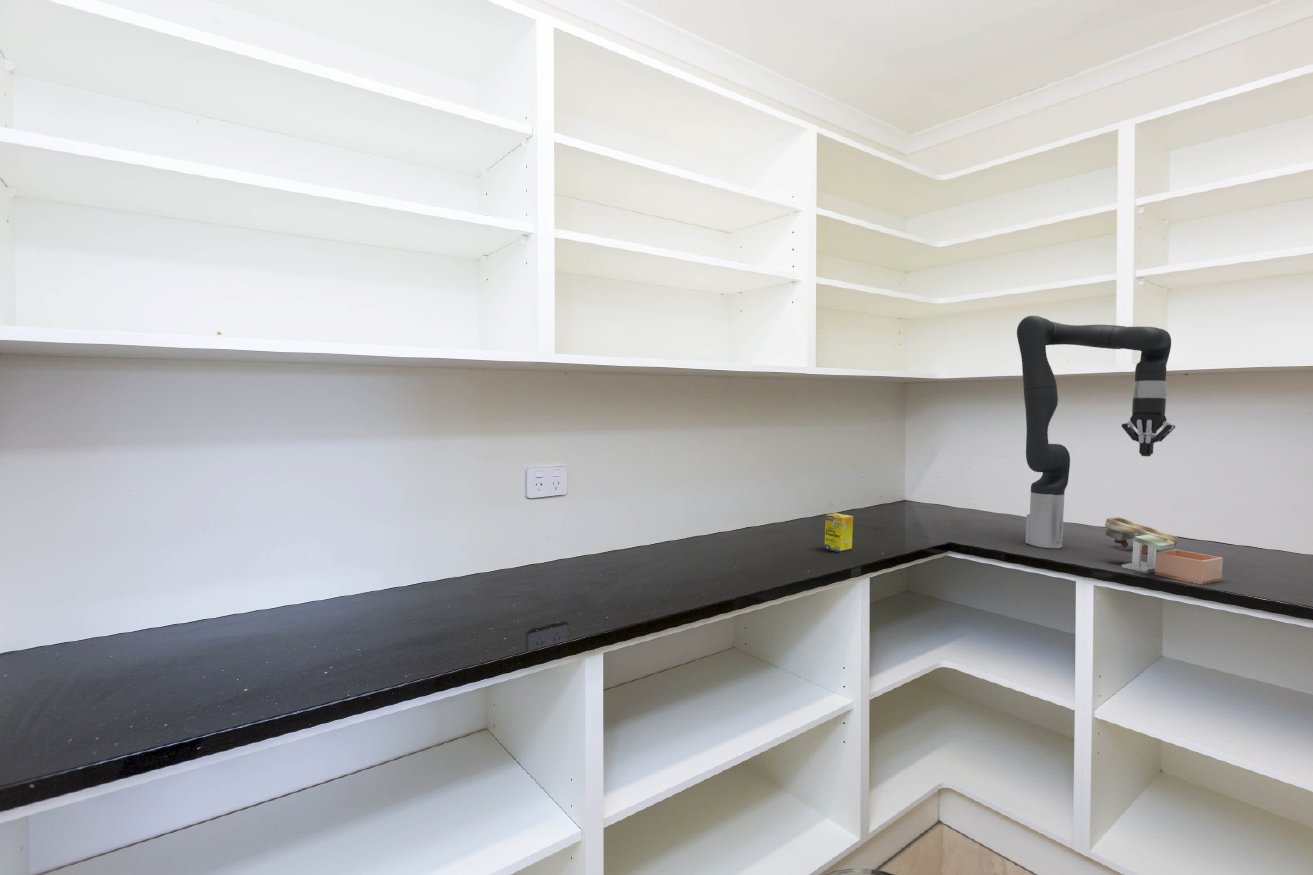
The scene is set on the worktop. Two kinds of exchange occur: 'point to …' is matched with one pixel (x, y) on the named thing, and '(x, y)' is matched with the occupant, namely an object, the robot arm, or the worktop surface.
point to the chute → (1149, 537)
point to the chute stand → (1136, 558)
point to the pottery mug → (1124, 544)
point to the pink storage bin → (1189, 566)
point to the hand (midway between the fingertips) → (1146, 456)
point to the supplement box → (838, 532)
